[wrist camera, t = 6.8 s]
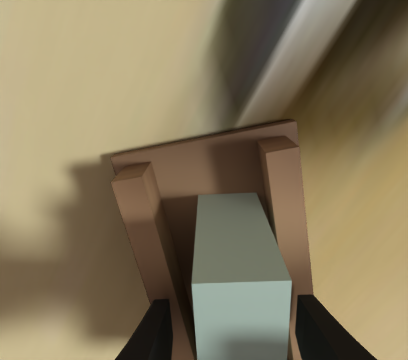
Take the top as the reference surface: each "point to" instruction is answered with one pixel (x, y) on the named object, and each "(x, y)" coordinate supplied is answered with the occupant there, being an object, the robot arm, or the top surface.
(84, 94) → the top surface
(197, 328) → the pale teal block
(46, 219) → the top surface
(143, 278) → the floor track
